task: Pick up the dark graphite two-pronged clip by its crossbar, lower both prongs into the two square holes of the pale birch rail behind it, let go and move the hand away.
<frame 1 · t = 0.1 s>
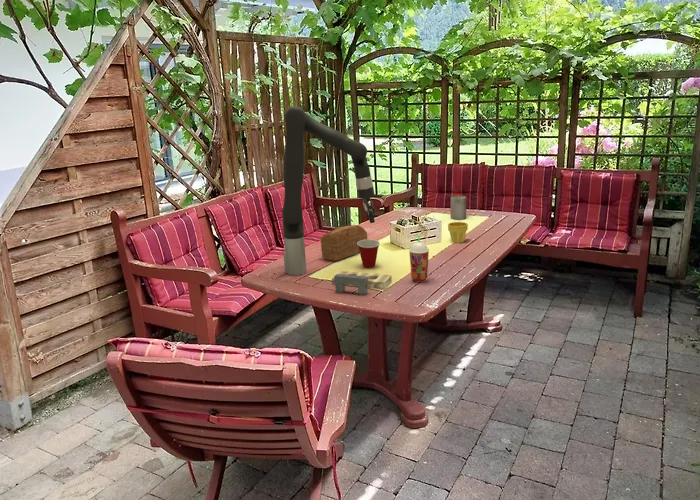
hand: (371, 220, 263), 22 cm above the table, tool pointing down, fingers open, 8 cm apart
rail: (361, 283, 247), on the table
smoothie: (419, 280, 248), on the table
clip: (351, 292, 237), on the table
plant pot: (457, 241, 306), on the table
plastic cup: (369, 267, 270), on the table
pillar candle: (458, 218, 359), on the table
bread: (345, 255, 291), on the table
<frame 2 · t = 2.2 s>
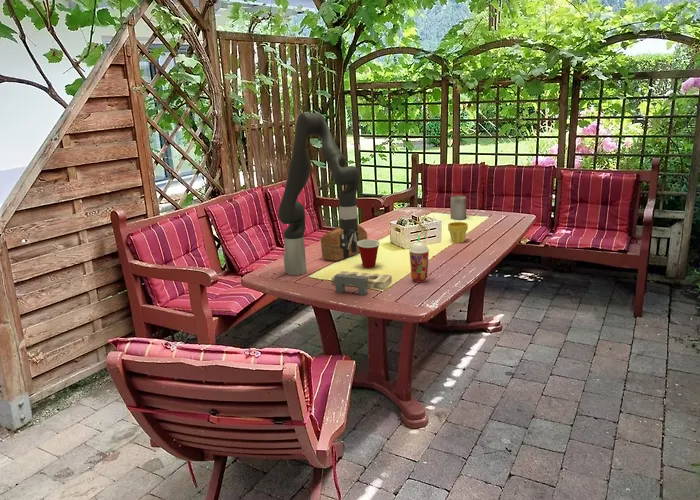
hand: (350, 255, 232), 16 cm above the table, tool pointing down, fingers open, 8 cm apart
nothing on the table moved.
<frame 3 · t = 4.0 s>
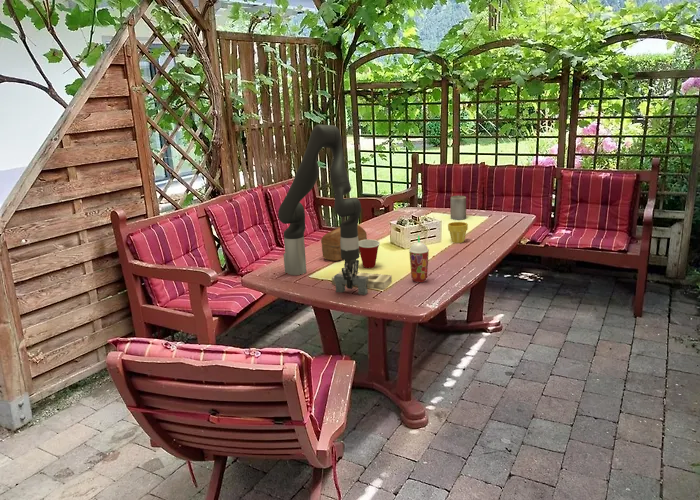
hand: (351, 286, 236), 2 cm above the table, tool pointing down, fingers closed on clip, 3 cm apart
clip: (351, 292, 237), on the table, touching gripper
everything else where it was.
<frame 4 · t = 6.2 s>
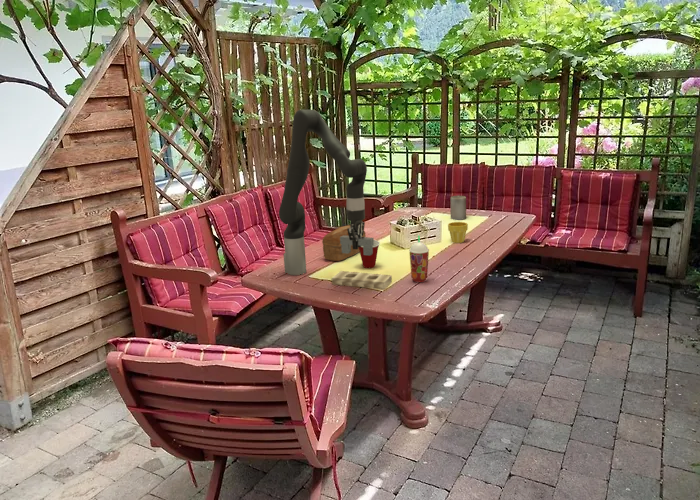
hand: (356, 247, 240), 17 cm above the table, tool pointing down, fingers closed on clip, 3 cm apart
clip: (357, 253, 241), point 14 cm above the table, touching gripper
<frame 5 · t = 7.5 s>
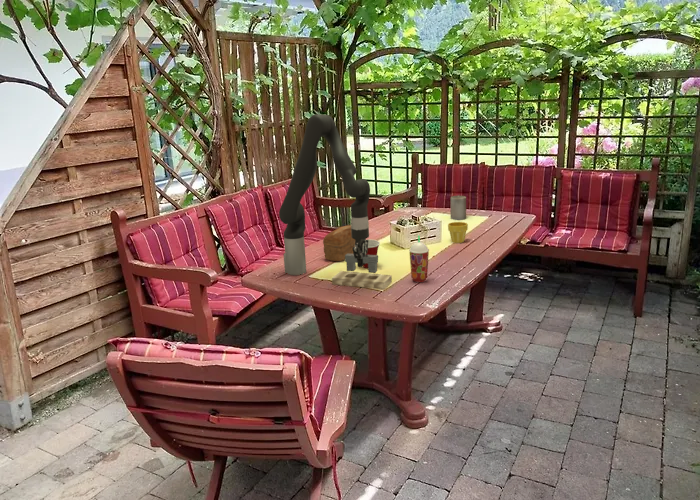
hand: (361, 265, 245), 8 cm above the table, tool pointing down, fingers closed on clip, 3 cm apart
clip: (362, 270, 246), point 6 cm above the table, touching gripper
when the fingers open (4 cm above the table, at t = 8.6 s): clip drops 1 cm, resting in rail.
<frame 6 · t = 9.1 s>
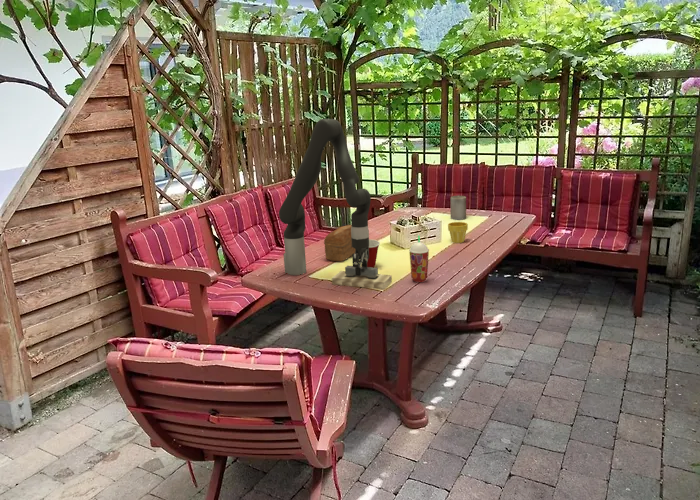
hand: (361, 272, 246), 5 cm above the table, tool pointing down, fingers open, 7 cm apart
clip: (361, 283, 247), resting in rail
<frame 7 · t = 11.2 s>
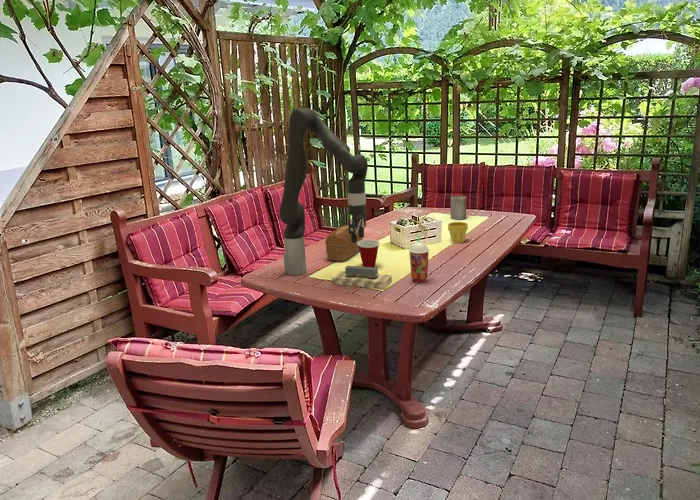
hand: (357, 240, 244), 19 cm above the table, tool pointing down, fingers open, 8 cm apart
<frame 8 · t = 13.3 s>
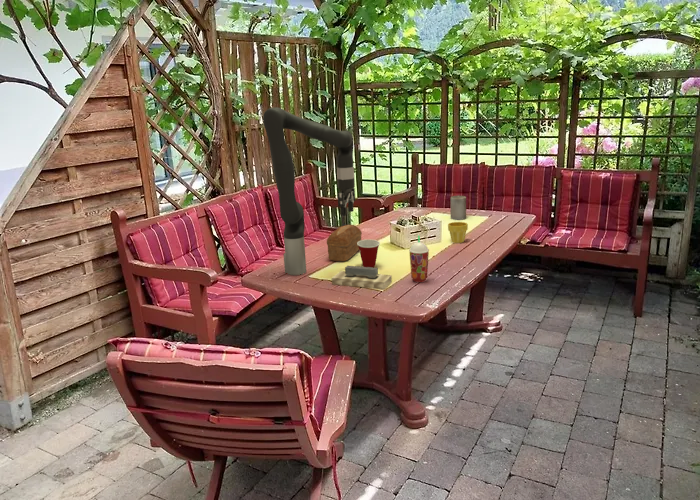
hand: (347, 213, 253), 28 cm above the table, tool pointing down, fingers open, 8 cm apart
at the end: clip 0.0 cm off-centre on the rail, point 0.0 cm above the rail's base; clip tilted 0°; the gripper is holding nothing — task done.
